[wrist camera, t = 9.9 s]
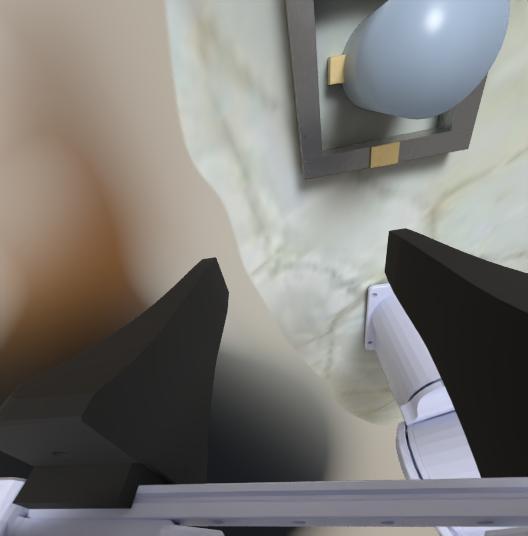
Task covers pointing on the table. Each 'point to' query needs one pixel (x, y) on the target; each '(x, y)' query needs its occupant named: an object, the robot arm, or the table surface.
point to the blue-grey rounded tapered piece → (420, 55)
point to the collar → (373, 152)
